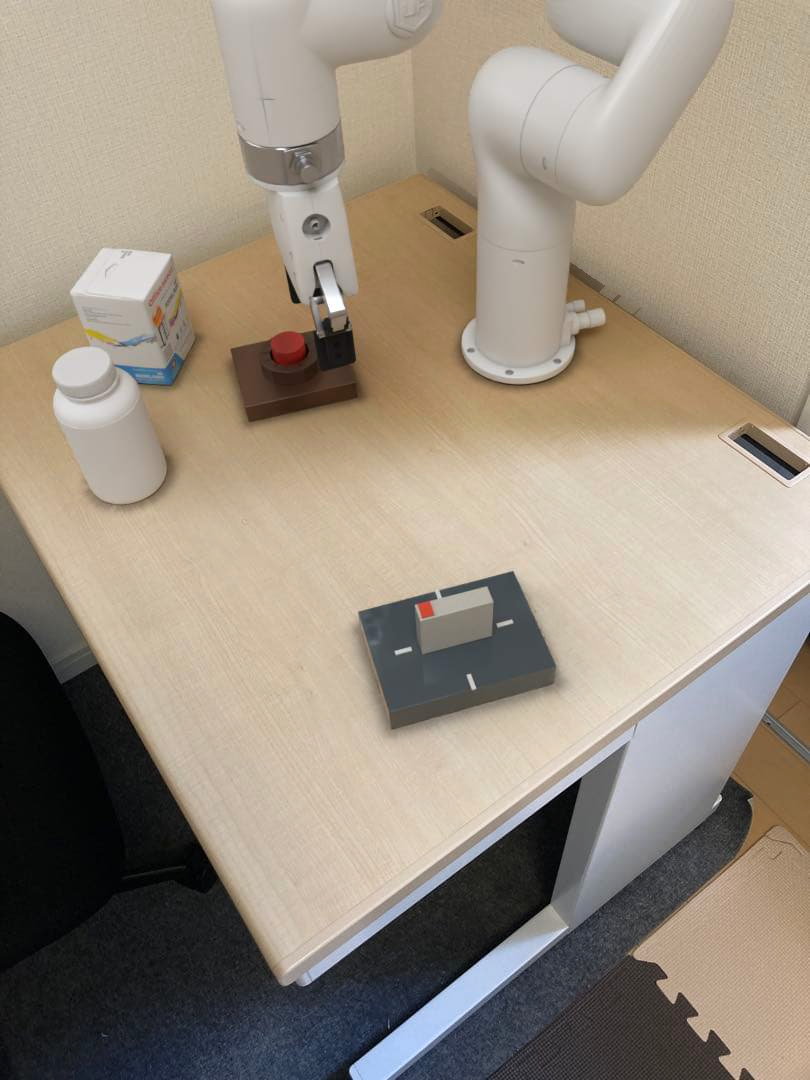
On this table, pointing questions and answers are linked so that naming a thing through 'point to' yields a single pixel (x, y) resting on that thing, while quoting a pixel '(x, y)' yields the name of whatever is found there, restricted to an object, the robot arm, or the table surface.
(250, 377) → the button block
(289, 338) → the button
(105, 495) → the pill bottle
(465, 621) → the beige rectangular block
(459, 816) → the table surface
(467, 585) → the rotary knob panel
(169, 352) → the ink box
